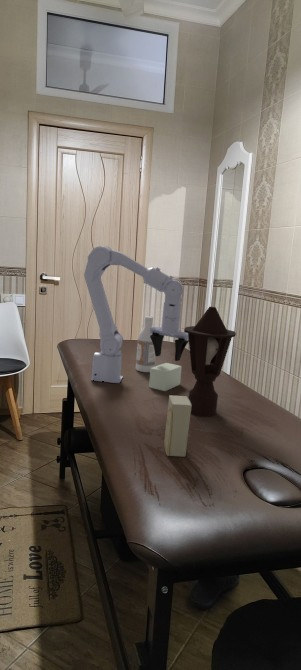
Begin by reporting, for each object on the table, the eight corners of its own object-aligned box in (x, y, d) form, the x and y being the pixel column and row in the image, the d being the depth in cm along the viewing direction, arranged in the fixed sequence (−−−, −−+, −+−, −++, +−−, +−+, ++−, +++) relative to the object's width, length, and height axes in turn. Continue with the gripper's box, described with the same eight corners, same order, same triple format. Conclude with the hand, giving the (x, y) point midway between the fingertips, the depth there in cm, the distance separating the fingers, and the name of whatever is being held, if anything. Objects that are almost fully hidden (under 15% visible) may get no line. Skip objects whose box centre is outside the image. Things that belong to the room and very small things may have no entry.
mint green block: (165, 391, 151) (166, 371, 150) (148, 387, 154) (150, 368, 152) (179, 384, 160) (181, 366, 159) (164, 380, 163) (166, 362, 161)
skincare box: (163, 444, 109) (168, 394, 107) (182, 445, 110) (187, 395, 108) (166, 456, 103) (171, 403, 101) (186, 457, 104) (192, 404, 102)
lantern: (167, 404, 138) (176, 302, 133) (210, 401, 144) (221, 304, 139) (190, 422, 125) (202, 310, 119) (238, 418, 131) (250, 311, 125)
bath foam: (132, 368, 176) (136, 315, 173) (149, 367, 179) (154, 315, 175) (139, 373, 170) (143, 318, 166) (157, 372, 173) (161, 318, 169)
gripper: (196, 319, 152) (192, 360, 155) (159, 313, 160) (155, 352, 163) (185, 321, 147) (181, 363, 149) (147, 314, 154) (144, 355, 157)
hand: (167, 358), depth 155 cm, fingers open, 7 cm apart
